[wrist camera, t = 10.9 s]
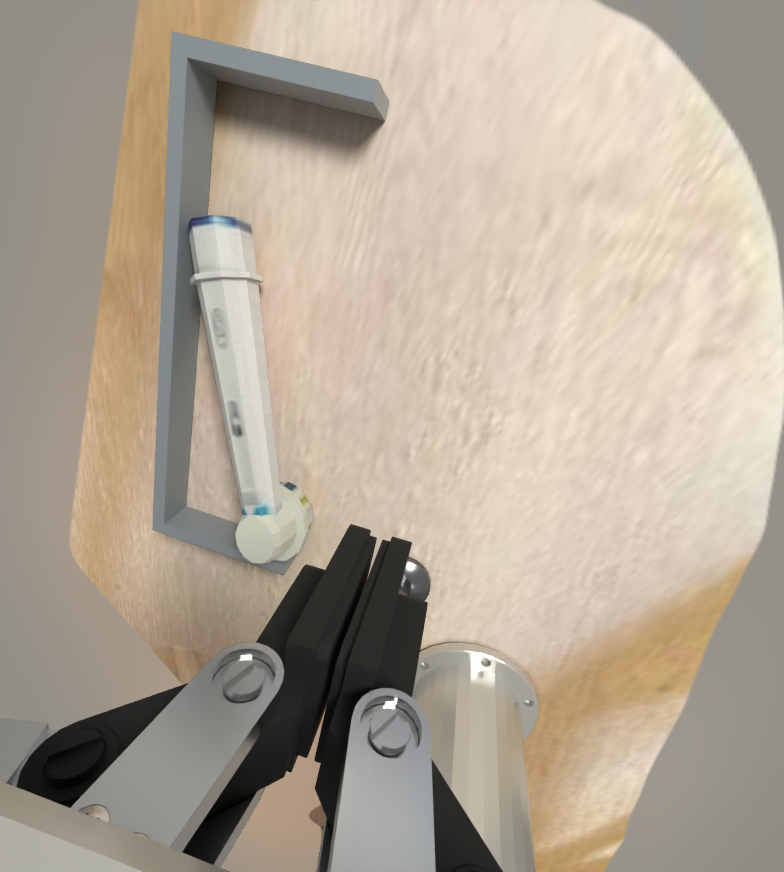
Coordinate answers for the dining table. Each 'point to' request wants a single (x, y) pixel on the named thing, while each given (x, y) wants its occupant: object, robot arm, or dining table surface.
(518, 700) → the robot arm
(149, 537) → the dining table surface
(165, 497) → the bay
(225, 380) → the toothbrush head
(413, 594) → the ball stud
